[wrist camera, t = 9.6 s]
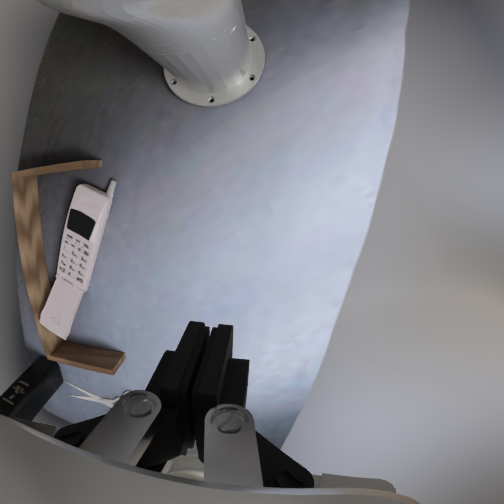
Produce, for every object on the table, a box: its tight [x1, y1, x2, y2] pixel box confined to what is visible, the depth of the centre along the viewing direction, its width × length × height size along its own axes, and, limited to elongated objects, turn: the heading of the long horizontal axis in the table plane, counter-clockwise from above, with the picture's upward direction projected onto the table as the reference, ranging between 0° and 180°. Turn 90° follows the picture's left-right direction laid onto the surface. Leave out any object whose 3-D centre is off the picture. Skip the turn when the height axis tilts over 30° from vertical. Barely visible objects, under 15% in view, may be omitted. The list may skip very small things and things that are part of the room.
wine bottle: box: [0, 356, 63, 421], centre depth 34 cm, size 6×6×30 cm
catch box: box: [12, 160, 126, 375], centre depth 39 cm, size 31×14×5 cm, turn 179°
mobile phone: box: [39, 180, 117, 340], centre depth 38 cm, size 6×6×25 cm
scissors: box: [64, 381, 131, 408], centre depth 49 cm, size 11×1×20 cm
